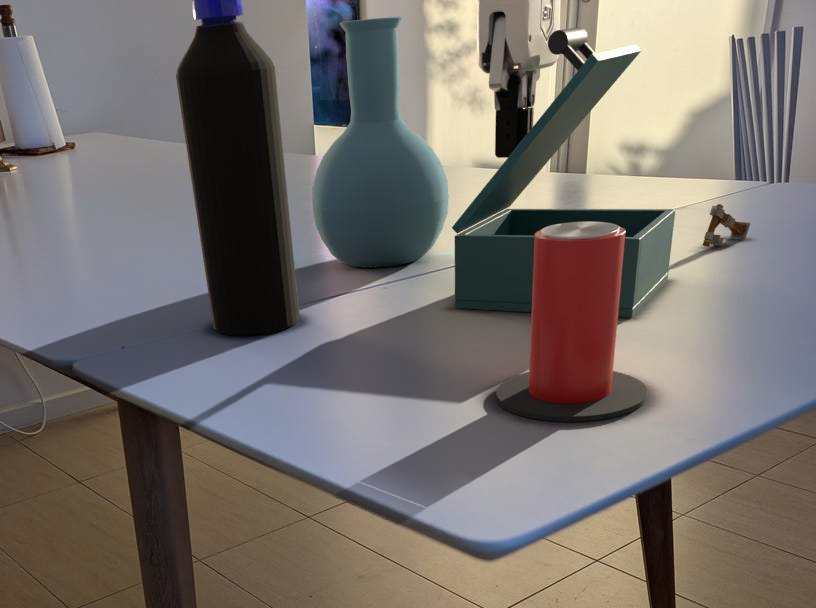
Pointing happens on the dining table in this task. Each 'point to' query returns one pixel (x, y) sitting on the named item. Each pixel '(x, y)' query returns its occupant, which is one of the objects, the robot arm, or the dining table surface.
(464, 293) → the teal rectangular open box
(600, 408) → the coaster
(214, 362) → the dining table surface
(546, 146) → the lid
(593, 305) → the can
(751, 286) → the dining table surface
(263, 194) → the bottle
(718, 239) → the wooden post with brackets
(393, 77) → the vase
